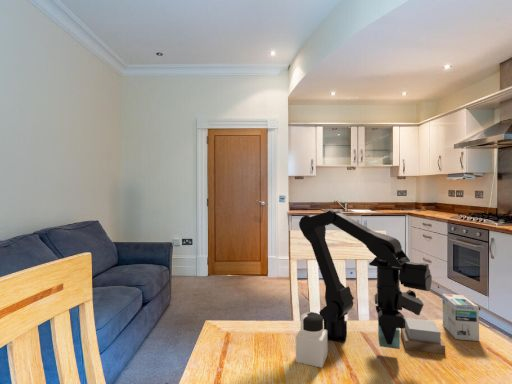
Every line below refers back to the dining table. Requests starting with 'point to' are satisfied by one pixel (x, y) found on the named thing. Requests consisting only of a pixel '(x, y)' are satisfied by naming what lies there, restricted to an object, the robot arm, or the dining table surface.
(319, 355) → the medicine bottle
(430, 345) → the walnut slab
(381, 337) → the teal block
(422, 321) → the grey slab
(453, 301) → the light bulb box
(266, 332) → the dining table surface
